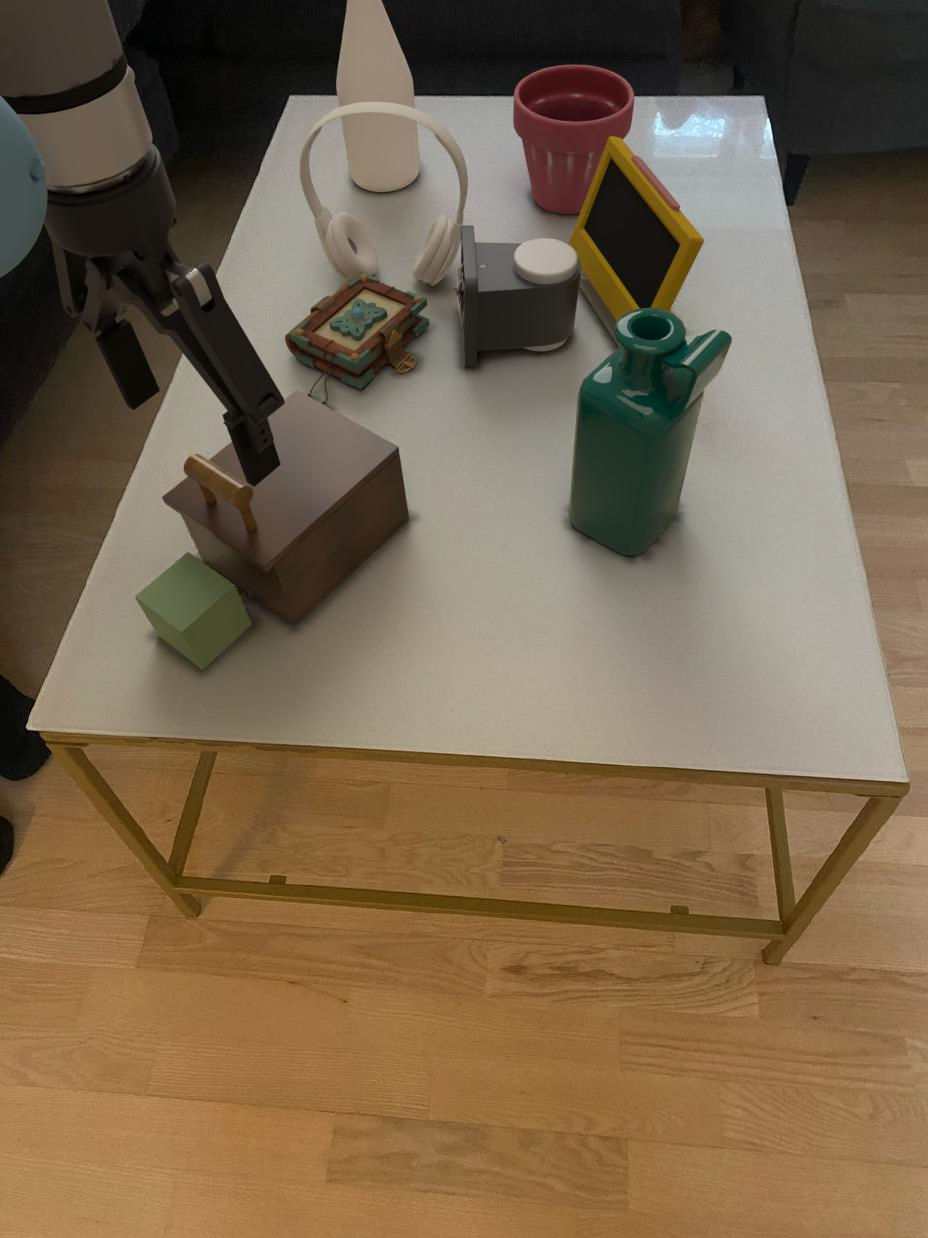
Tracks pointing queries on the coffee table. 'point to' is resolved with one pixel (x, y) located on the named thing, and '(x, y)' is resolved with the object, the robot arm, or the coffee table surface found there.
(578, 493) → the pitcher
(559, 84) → the flower pot
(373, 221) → the coffee table surface
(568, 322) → the light fixture
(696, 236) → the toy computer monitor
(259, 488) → the bin lid
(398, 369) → the decorative book
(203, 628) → the block
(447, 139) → the headphones
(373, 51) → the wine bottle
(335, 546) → the bin
